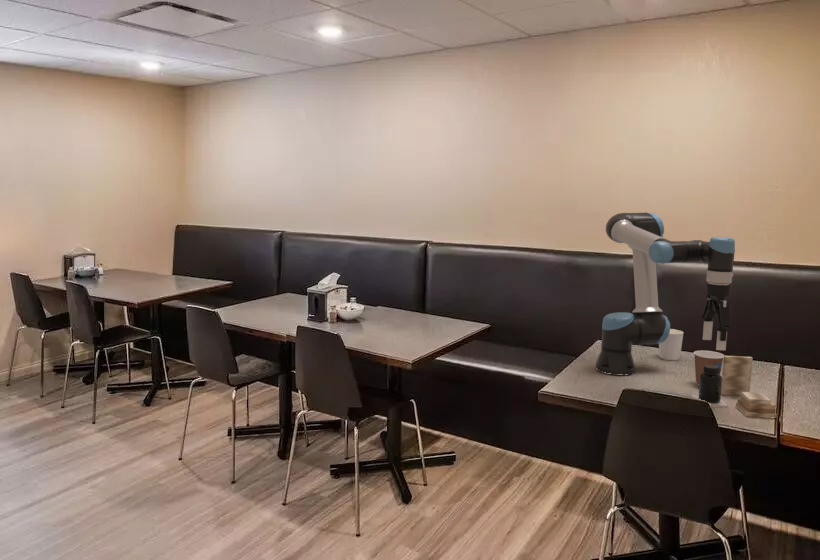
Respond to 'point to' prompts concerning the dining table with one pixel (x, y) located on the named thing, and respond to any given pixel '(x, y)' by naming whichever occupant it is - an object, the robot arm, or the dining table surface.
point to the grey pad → (719, 404)
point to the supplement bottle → (710, 384)
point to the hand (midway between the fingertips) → (713, 344)
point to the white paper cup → (671, 346)
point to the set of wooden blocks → (744, 388)
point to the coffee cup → (706, 361)
